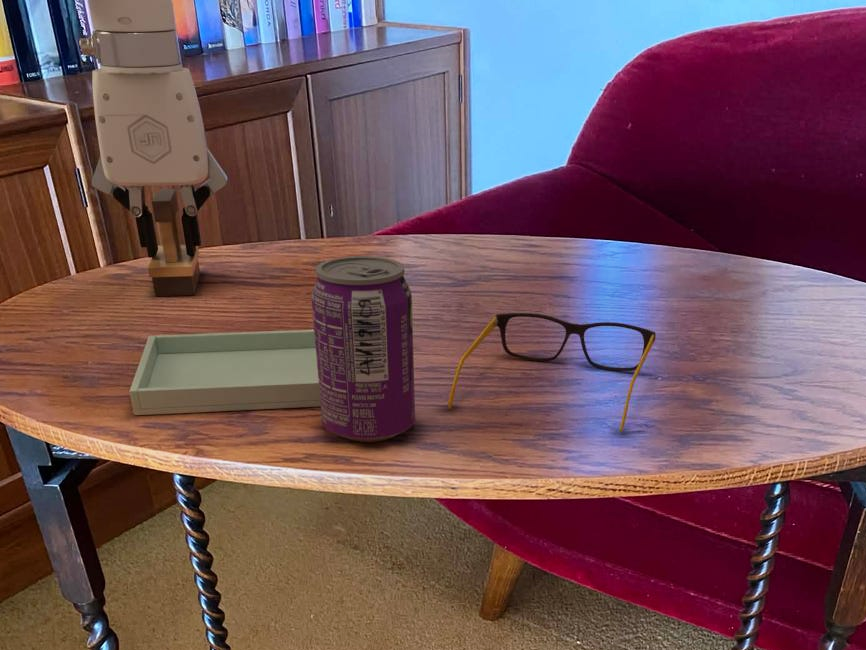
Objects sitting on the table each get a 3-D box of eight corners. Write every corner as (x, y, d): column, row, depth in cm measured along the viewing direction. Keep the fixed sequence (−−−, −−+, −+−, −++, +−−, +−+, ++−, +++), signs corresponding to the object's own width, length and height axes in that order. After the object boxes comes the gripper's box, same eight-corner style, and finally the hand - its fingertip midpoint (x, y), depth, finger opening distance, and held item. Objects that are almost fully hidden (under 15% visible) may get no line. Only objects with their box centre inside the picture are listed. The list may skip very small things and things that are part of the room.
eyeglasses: (652, 371, 85) (658, 326, 83) (622, 435, 74) (627, 384, 71) (498, 352, 88) (499, 308, 86) (446, 410, 77) (446, 361, 75)
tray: (134, 415, 75) (129, 391, 74) (153, 357, 86) (148, 335, 85) (366, 404, 78) (365, 380, 77) (357, 349, 88) (355, 327, 87)
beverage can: (433, 423, 75) (430, 263, 68) (380, 456, 70) (371, 287, 63) (359, 404, 78) (349, 249, 71) (303, 434, 73) (287, 271, 66)
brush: (153, 297, 100) (136, 204, 95) (161, 273, 108) (146, 186, 102) (196, 295, 101) (181, 203, 96) (202, 272, 108) (189, 185, 103)
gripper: (40, 56, 87) (86, 265, 98) (225, 56, 90) (250, 261, 100) (56, 49, 93) (97, 247, 104) (229, 49, 96) (252, 243, 106)
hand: (172, 252), depth 102 cm, fingers open, 3 cm apart
